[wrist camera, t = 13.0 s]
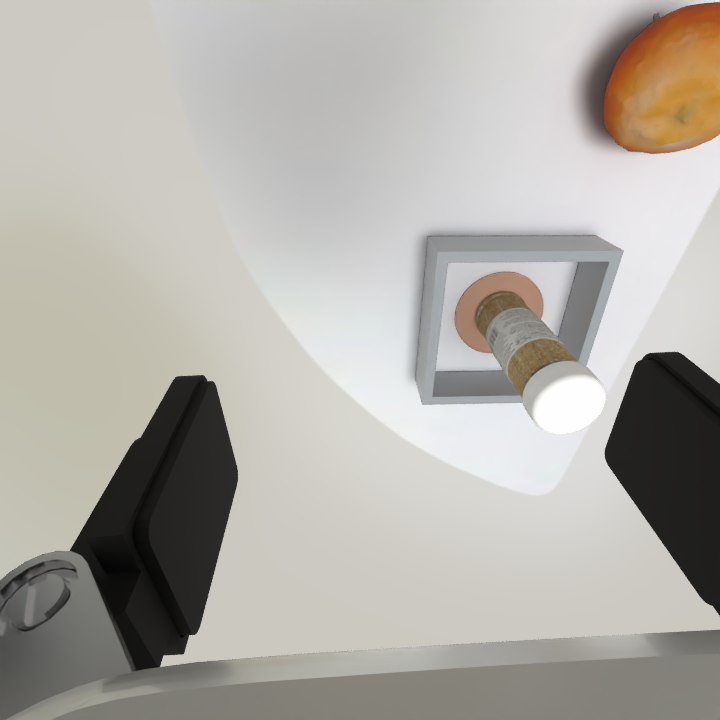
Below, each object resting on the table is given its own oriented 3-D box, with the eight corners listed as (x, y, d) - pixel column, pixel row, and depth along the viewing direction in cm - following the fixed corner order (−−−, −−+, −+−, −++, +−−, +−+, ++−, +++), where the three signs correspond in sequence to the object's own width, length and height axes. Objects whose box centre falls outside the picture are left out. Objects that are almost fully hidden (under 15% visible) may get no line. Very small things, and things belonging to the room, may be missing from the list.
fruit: (770, 9, 27) (817, 80, 23) (654, 122, 34) (675, 192, 30) (669, -58, 25) (702, 7, 21) (568, 75, 32) (578, 144, 28)
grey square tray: (428, 236, 35) (438, 251, 31) (595, 235, 35) (623, 250, 32) (415, 379, 42) (422, 404, 38) (555, 376, 42) (574, 401, 39)
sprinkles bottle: (513, 340, 39) (586, 441, 28) (466, 332, 39) (521, 432, 27) (534, 294, 37) (623, 383, 26) (484, 284, 37) (552, 371, 25)
